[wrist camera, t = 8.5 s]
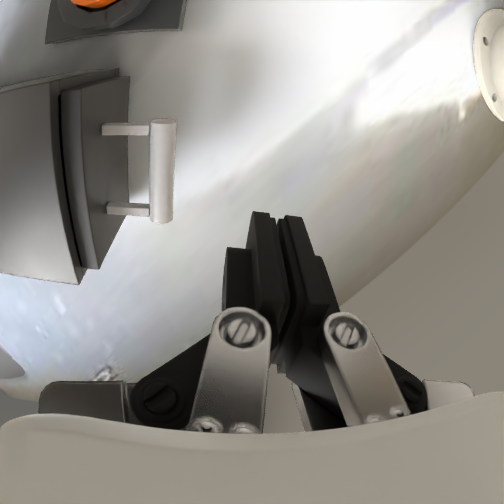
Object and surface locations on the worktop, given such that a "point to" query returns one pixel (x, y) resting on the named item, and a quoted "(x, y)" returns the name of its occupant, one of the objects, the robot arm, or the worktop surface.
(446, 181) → the worktop surface
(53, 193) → the dark grey cabinet
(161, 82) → the worktop surface
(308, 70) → the worktop surface
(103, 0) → the button
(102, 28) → the block
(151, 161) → the drawer
